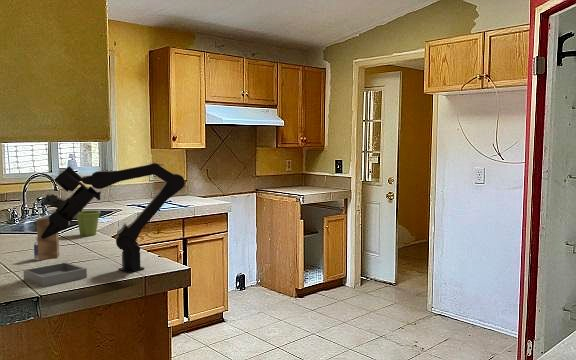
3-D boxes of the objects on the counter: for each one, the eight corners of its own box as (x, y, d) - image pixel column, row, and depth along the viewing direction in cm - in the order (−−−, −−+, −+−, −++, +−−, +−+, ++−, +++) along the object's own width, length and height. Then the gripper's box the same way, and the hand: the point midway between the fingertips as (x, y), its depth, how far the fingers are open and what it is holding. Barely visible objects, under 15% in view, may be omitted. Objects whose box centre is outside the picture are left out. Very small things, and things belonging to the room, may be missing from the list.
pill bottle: (43, 260, 186) (42, 237, 186) (31, 260, 187) (30, 236, 187) (52, 257, 191) (52, 234, 191) (40, 257, 192) (39, 234, 192)
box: (86, 277, 162) (86, 268, 161) (43, 286, 151) (42, 277, 151) (66, 270, 171) (66, 262, 170) (23, 279, 160) (23, 270, 160)
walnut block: (59, 254, 166) (57, 216, 165) (57, 258, 161) (55, 219, 160) (41, 256, 164) (39, 217, 163) (38, 260, 159) (36, 220, 158)
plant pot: (86, 238, 232) (85, 214, 231) (69, 235, 238) (69, 212, 237) (106, 234, 242) (106, 211, 242) (90, 232, 248) (89, 209, 248)
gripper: (62, 182, 171) (28, 216, 168) (54, 187, 153) (17, 224, 151) (87, 204, 174) (55, 237, 171) (83, 210, 156) (46, 248, 154)
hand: (43, 236), depth 162 cm, fingers closed on walnut block, 5 cm apart
